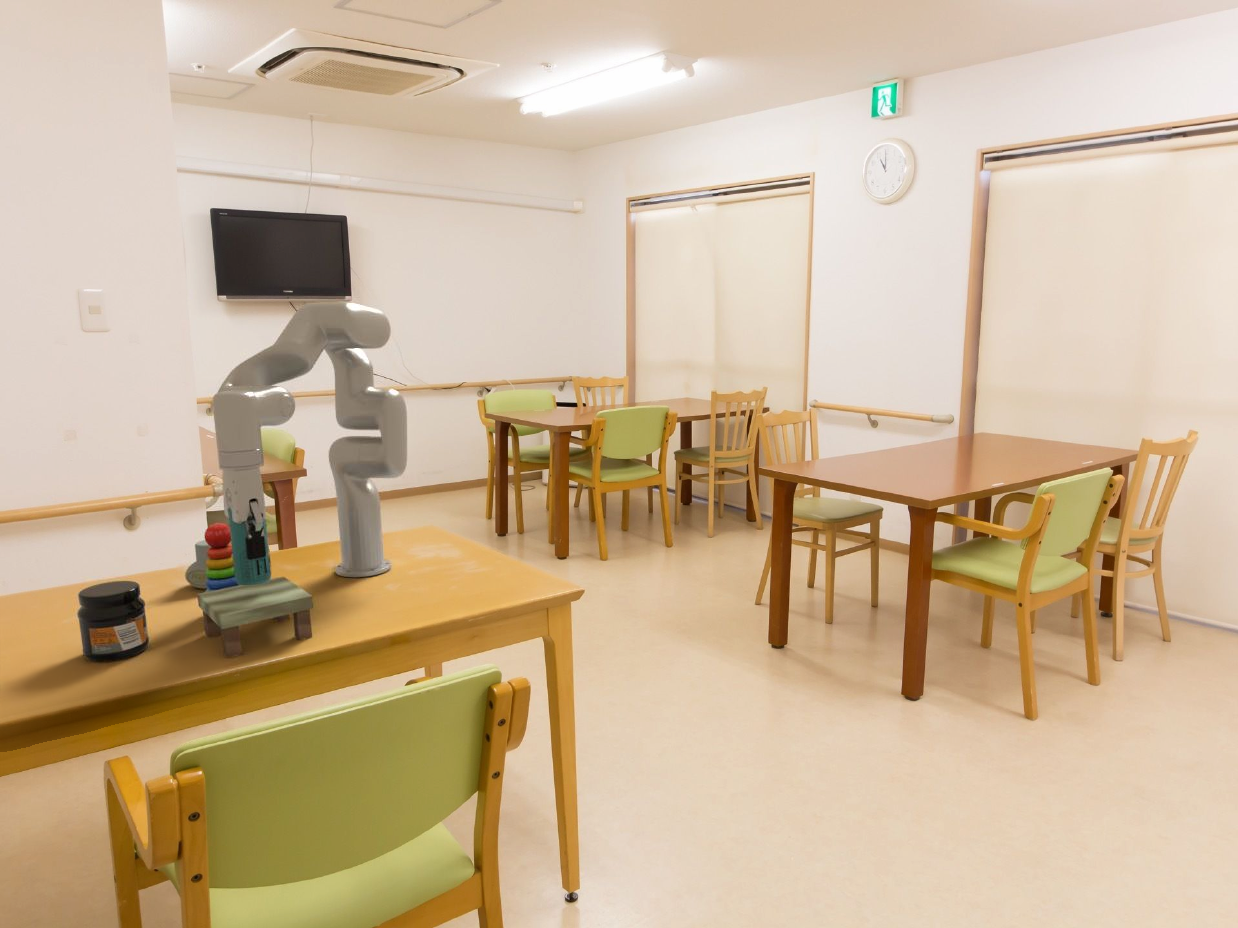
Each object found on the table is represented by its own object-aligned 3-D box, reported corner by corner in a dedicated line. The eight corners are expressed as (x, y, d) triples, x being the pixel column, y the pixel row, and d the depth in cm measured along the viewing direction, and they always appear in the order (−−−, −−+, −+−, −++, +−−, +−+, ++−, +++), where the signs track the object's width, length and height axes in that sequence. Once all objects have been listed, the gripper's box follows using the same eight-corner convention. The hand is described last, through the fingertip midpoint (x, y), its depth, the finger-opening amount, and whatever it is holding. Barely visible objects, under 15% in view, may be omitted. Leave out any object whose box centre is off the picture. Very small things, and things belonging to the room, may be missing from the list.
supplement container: (139, 660, 154) (131, 595, 151) (73, 666, 151) (64, 600, 149) (157, 638, 164) (150, 577, 162) (96, 644, 162) (87, 582, 159)
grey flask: (179, 590, 192) (174, 546, 190) (203, 578, 200) (198, 536, 198) (225, 592, 190) (220, 548, 189) (246, 580, 198) (242, 537, 197)
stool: (201, 634, 165) (197, 593, 164) (287, 614, 175) (283, 576, 174) (225, 659, 153) (220, 616, 152) (315, 636, 163) (312, 595, 161)
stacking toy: (257, 608, 179) (248, 520, 176) (228, 622, 172) (218, 530, 168) (226, 605, 182) (217, 517, 178) (196, 618, 174) (186, 527, 171)
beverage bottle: (259, 594, 159) (248, 486, 155) (227, 592, 160) (215, 486, 157) (280, 583, 165) (270, 479, 162) (248, 581, 166) (238, 478, 163)
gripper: (206, 455, 163) (216, 548, 166) (233, 467, 149) (243, 568, 152) (248, 450, 167) (257, 541, 170) (277, 462, 154) (286, 560, 157)
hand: (250, 553), depth 161 cm, fingers closed on beverage bottle, 6 cm apart
